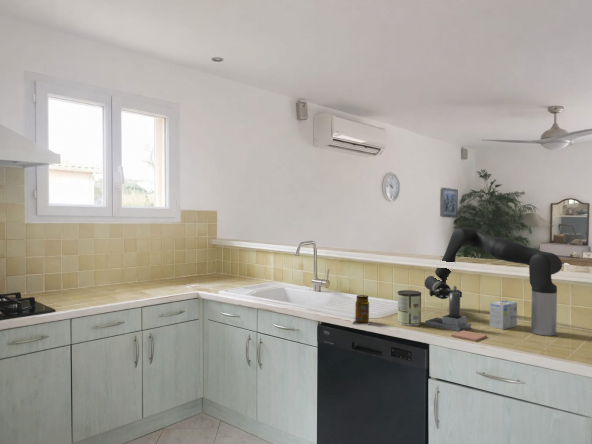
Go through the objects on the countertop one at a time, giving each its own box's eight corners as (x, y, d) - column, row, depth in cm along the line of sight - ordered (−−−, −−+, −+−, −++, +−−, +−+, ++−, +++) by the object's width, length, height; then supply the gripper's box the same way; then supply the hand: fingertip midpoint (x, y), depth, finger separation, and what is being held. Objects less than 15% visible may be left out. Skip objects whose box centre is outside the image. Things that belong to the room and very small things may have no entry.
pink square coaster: (463, 332, 189) (463, 330, 189) (487, 337, 182) (487, 335, 182) (451, 336, 183) (451, 334, 183) (475, 341, 175) (475, 339, 175)
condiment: (370, 321, 209) (370, 294, 209) (368, 325, 200) (369, 298, 200) (354, 320, 210) (354, 294, 210) (352, 324, 202) (352, 297, 202)
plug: (452, 321, 200) (452, 284, 199) (461, 323, 196) (462, 285, 196) (447, 323, 197) (447, 285, 196) (456, 325, 193) (457, 286, 193)
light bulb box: (503, 323, 206) (503, 299, 206) (517, 326, 200) (517, 302, 200) (488, 326, 200) (489, 302, 200) (503, 329, 194) (503, 304, 194)
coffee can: (404, 319, 212) (404, 289, 212) (424, 323, 205) (425, 291, 205) (392, 323, 204) (393, 291, 204) (413, 327, 198) (414, 294, 197)
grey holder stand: (436, 321, 208) (437, 310, 208) (470, 328, 196) (471, 316, 196) (425, 325, 201) (425, 313, 201) (459, 332, 190) (459, 320, 189)
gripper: (426, 281, 225) (432, 287, 208) (456, 282, 223) (464, 288, 207) (426, 296, 225) (432, 303, 209) (456, 298, 223) (464, 304, 207)
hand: (448, 295), depth 208 cm, fingers open, 8 cm apart
